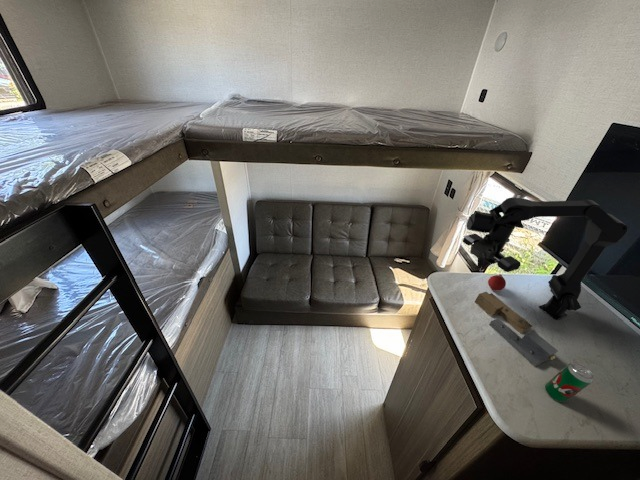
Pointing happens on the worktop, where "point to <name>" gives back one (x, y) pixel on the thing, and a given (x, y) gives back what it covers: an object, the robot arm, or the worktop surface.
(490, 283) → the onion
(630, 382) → the worktop surface
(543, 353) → the leaf fixed
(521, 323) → the wooden block
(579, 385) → the soda can
